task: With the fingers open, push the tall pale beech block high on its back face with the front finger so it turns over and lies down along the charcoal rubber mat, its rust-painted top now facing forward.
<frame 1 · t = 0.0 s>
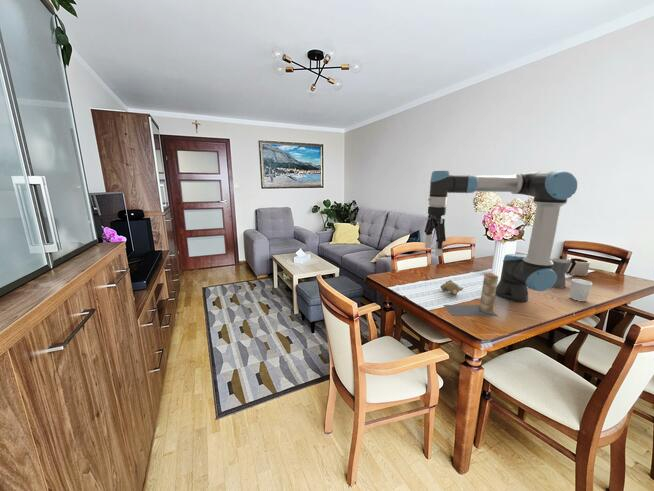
hand: (432, 251, 129), 28 cm above the table, tool pointing down, fingers open, 13 cm apart
rubber mat: (469, 311, 131), on the table
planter: (575, 274, 183), on the table
turtle figurine: (450, 294, 151), on the table
wooden block: (485, 310, 131), resting on rubber mat
white cup: (577, 299, 145), on the table
coffeepot: (556, 285, 164), on the table
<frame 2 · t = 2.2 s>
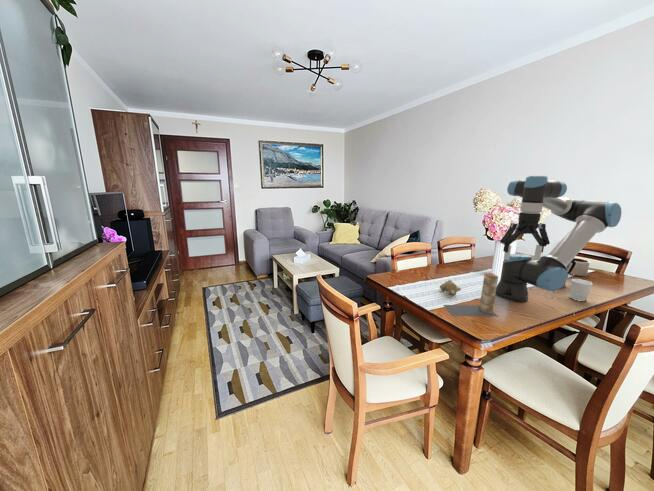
hand: (521, 259, 124), 26 cm above the table, tool pointing down, fingers open, 13 cm apart
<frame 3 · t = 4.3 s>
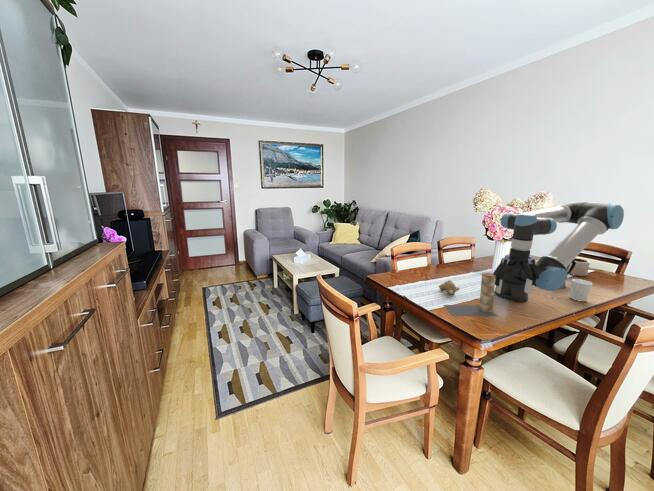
hand: (512, 292, 128), 10 cm above the table, tool pointing down, fingers open, 13 cm apart
wooden block: (485, 310, 131), point 1 cm above the table, touching gripper, rubber mat
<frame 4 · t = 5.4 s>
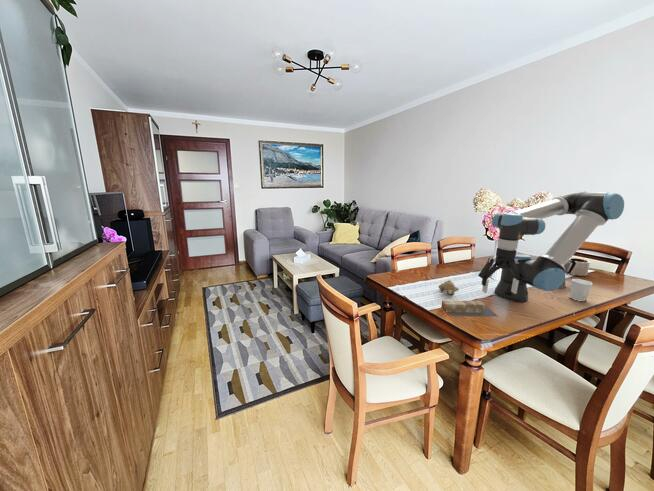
hand: (499, 292, 128), 10 cm above the table, tool pointing down, fingers open, 13 cm apart
wooden block: (481, 306, 130), point 2 cm above the table, tilted 90°, touching rubber mat
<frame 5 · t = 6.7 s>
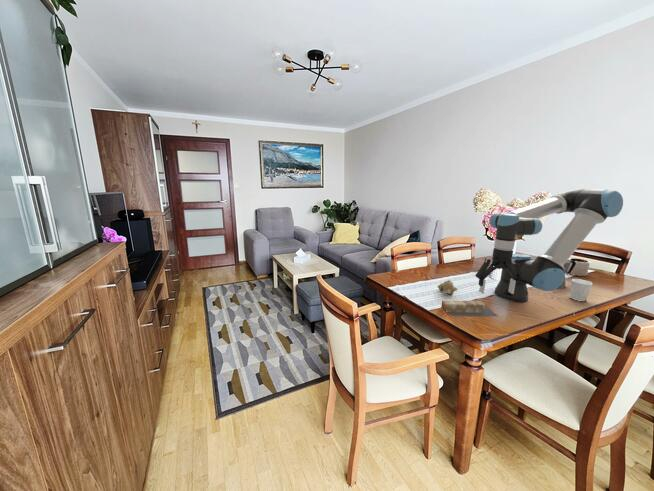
hand: (496, 292, 129), 10 cm above the table, tool pointing down, fingers open, 13 cm apart
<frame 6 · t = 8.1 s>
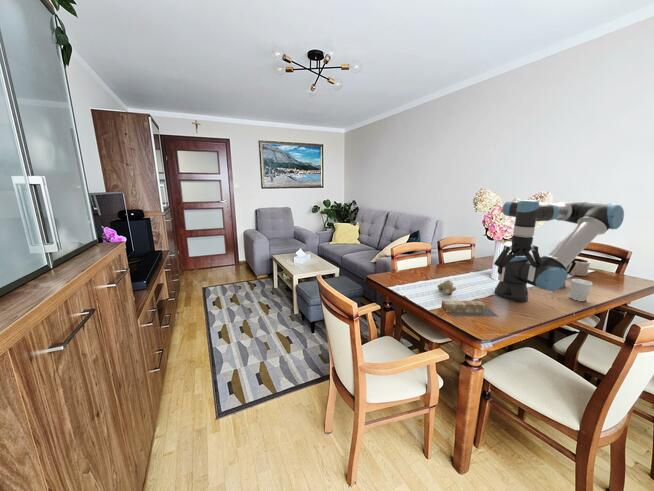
hand: (515, 280, 127), 16 cm above the table, tool pointing down, fingers open, 13 cm apart
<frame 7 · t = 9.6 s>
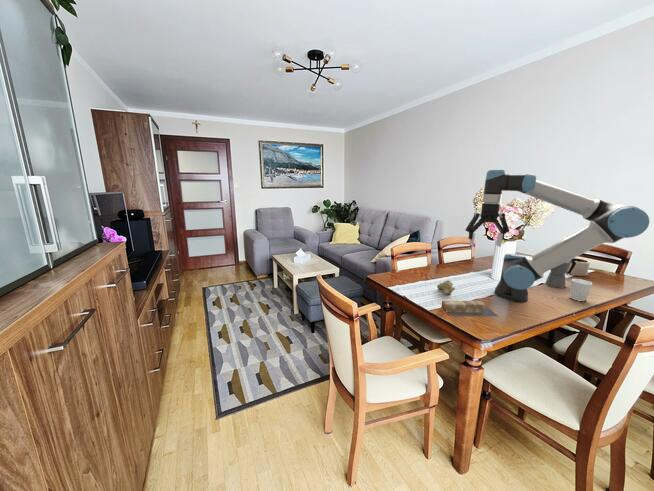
hand: (484, 245, 137), 29 cm above the table, tool pointing down, fingers open, 13 cm apart
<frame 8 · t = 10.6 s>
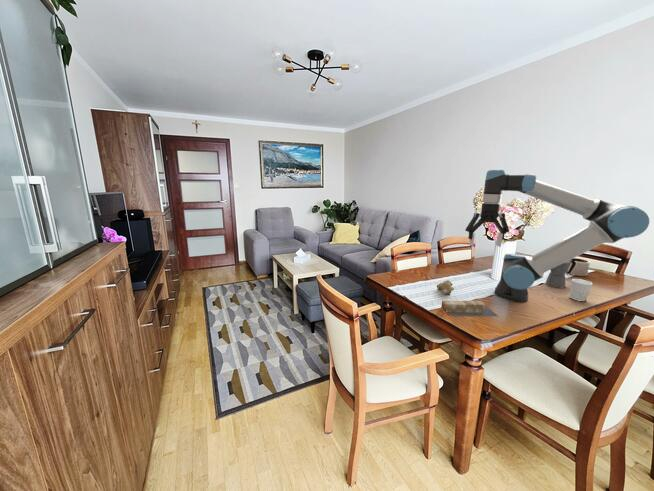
hand: (484, 245, 138), 29 cm above the table, tool pointing down, fingers open, 13 cm apart
at the end: wooden block tilted 90°; wooden block inside the target area (2.3 cm from its centre), point 2.4 cm above the table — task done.
